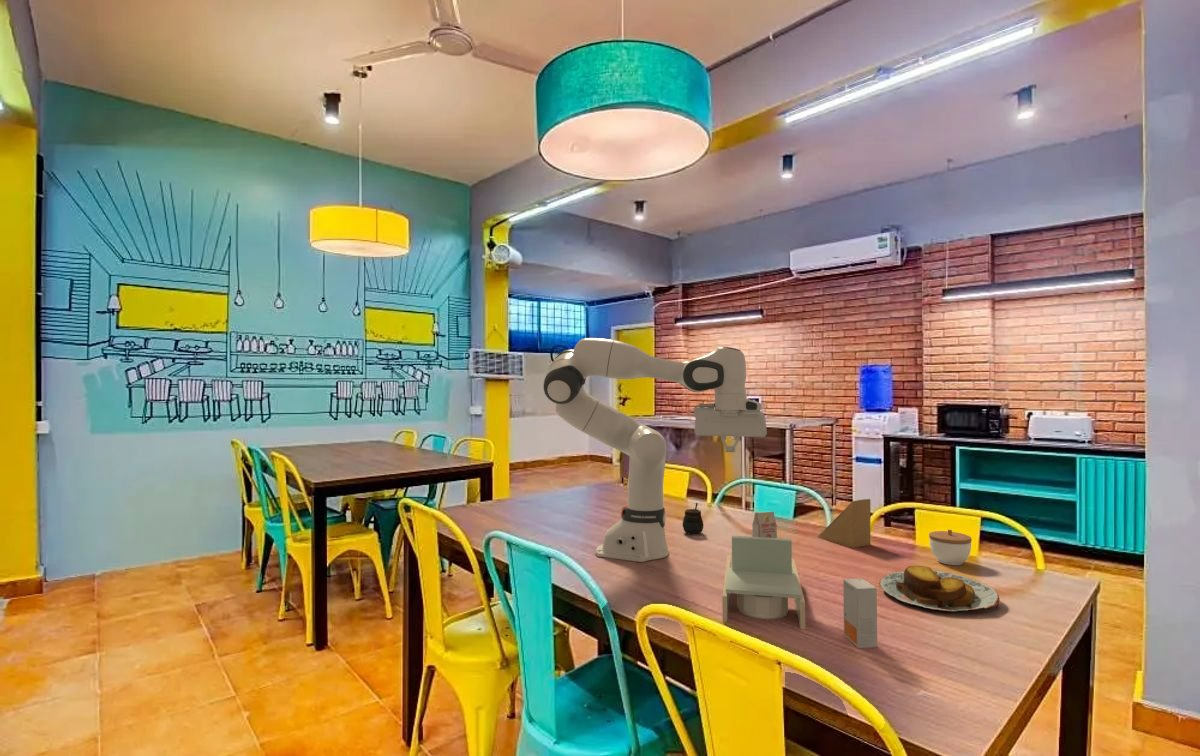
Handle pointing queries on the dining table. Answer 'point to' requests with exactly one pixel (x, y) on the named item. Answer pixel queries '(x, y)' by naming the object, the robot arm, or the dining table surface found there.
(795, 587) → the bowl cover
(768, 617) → the bowl stand
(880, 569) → the dining table surface
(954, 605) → the food on plate
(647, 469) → the robot arm
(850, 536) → the sandwich container
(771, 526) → the tea bag
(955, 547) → the lidded jar
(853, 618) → the skincare box
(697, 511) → the mate gourd
